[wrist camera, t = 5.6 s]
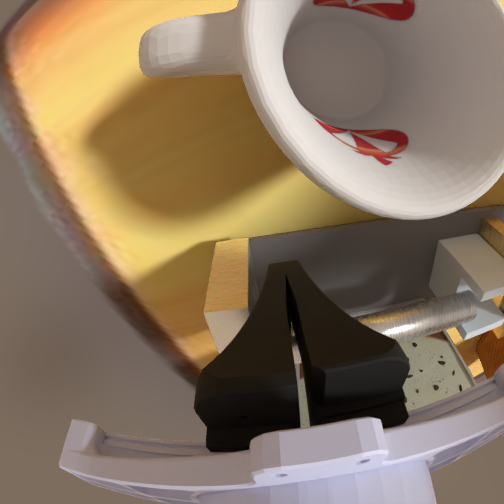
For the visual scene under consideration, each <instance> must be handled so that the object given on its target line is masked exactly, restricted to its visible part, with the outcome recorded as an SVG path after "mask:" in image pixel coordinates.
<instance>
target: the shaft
mask: <svg viewBox="0 0 504 504" xmlns="http://www.w3.org/2000/svg"><path fill="white" fill-rule="evenodd" d="M258 297H259V290H258V285H257V280H256V275H255V270H254V265H253V260H252V255H251V249H250V244H249V239H248V237H247V238H240V239H234V240H227V241H220V242H216V245H215V251H214V256H213V261H212V267H211V272H210V278H209V283H208V289H207V294H206V300H205V306H204V312H203V313H204V316H205V319H206V321H207V324H208V327H209V329H210V332H211V334H212V337H213V339H214V342H215V345H216V347H217V350H218V352H219V354H220V353H221V352H222V351H223V350H224V349H225V348H226V346H227V345H228V344H229V343H230V342H231V341H232V340H233V338H234V337H235V336H236V335H237V333H238V332H239V331H240V329H241V328H242V326H243V325H244V323H245V322H246V320H247V319H248V317H249V315H250V313H251V312H252V310H253V308H254V306H255V304H256V302H257V299H258ZM476 315H477V301H476V298H475V296H474V294H473V293H472V292H471V291H470V290H464V291H461V292H457V293H454V294H450V295H446V296H443V297H439V298H435V299H431V300H427V301H423V302H419V303H415V304H411V305H407V306H402V307H398V308H393V309H389V310H384V311H379V312H375V313H370V314H365V315H360V316H354V317H353V318H354V319H356V320H357V321H359V322H361V323H362V324H364V325H365V326H367V327H369V328H371V329H373V330H375V331H377V332H379V333H381V334H383V335H386V336H388V337H390V338H393V339H395V340H397V342H398V343H402V342H406V341H410V340H413V339H417V338H420V337H424V336H427V335H431V334H434V333H437V332H441V331H444V330H447V329H450V328H453V327H456V326H459V325H462V324H465V323H468V322H471V321H473V320H474V319H475V317H476ZM291 337H292V350H293V356H294V363H295V364H298V363H302V362H301V357H300V353H299V349H298V345H297V341H296V337H295V333H294V330H293V327H291Z"/></svg>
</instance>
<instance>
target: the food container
mask: <svg viewBox="0 0 504 504" xmlns="http://www.w3.org/2000/svg"><path fill="white" fill-rule="evenodd" d="M423 301H426V300H425V298H424V297H423V298H419V299H415V300H411V301H406V302H402V303H398V304H393V305H389V306H385V307H380V308H375V309H371V310H366V311H361V312H356V313H351V314H349V315H350V316H351V317H354V316H360V315H365V314H370V313H375V312H379V311H384V310H389V309H393V308H398V307H402V306H407V305H411V304H415V303H419V302H423ZM399 345H400V346H401V348H402V349H403V351H404V353H405V354H406V356H407V359H408V361H409V364H410V371H409V374H408V376H407V378H406V381H405V383H404V385H403V387H402V388H403V390H404V393H405V398H404V399H403V400H404V402H405V405H406V408H407V411H408V412H409V411H412V410H415V409H418V408H421V407H424V406H426V405H429V404H432V403H435V402H437V401H440V400H442V399H445V398H447V397H450V396H452V395H455V394H457V393H459V392H462V391H464V390H466V389H468V388H471V387H473V386H475V385H477V383H476V381H475V379H474V377H473V375H472V374H471V372H470V370H469V368H468V367H467V365H466V363H465V361H464V360H463V358H462V356H461V354H460V353H459V351H458V349H457V348H456V346H455V344H454V343H453V341H452V340H451V338H450V336H449V335H448V333H447V332H446V330H444V331H441V332H437V333H434V334H431V335H427V336H424V337H420V338H417V339H413V340H410V341H406V342H402V343H399ZM296 377H297V385H298V396H299V408H300V421H301V422H300V423H301V428H304V427H310V423H309V414H308V406H307V398H306V390H305V383H304V375H303V368H302V363H298V364H296Z"/></svg>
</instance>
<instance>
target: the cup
mask: <svg viewBox="0 0 504 504" xmlns="http://www.w3.org/2000/svg"><path fill="white" fill-rule="evenodd" d="M139 64H140V68H141V70H142V72H143V74H144V75H146V76H148V77H152V78H173V77H192V76H210V75H242V78H243V82H244V85H245V87H246V90H247V92H248V95H249V98H250V100H251V102H252V104H253V107H254V109H255V111H256V113H257V115H258V116H259V118H260V120H261V122H262V124H263V125H264V127H265V128H266V130H267V131H268V133H269V134H270V136H271V137H272V139H273V140H274V142H275V143H276V144H277V145H278V147H279V148H280V149H281V151H282V152H283V153H284V154H285V155H286V156H287V158H288V159H289V160H290V161H291V162H292V163H293V164H294V165H295V166H296V167H297V168H298V169H299V170H300V171H301V172H302V173H303V174H304V175H306V176H307V177H308V178H309V179H310V180H311V181H313V182H314V183H315V184H316V185H318V186H319V187H320V188H321V189H323V190H325V191H326V192H328V193H329V194H331V195H332V196H334V197H335V198H337V199H339V200H341V201H343V202H345V203H346V204H348V205H350V206H353V207H355V208H357V209H360V210H362V211H364V212H368V213H371V214H374V215H377V216H382V217H387V218H392V219H401V220H422V219H431V218H436V217H440V216H444V215H447V214H450V213H453V212H455V211H457V210H460V209H462V208H464V207H466V206H467V205H469V204H471V203H472V202H474V201H476V200H477V199H478V198H479V197H481V196H482V195H483V194H484V193H486V192H487V191H488V190H489V189H490V188H491V187H492V186H493V185H494V184H495V183H496V181H497V180H498V179H499V178H500V176H501V175H502V174H503V172H504V9H503V7H502V6H501V4H500V2H499V1H498V0H239V1H238V5H237V7H236V8H235V9H233V10H230V11H227V12H222V13H213V14H205V15H196V16H190V17H184V18H179V19H175V20H171V21H167V22H164V23H161V24H158V25H156V26H154V27H152V28H151V29H149V30H147V31H146V32H145V33H144V35H143V36H142V38H141V41H140V45H139Z"/></svg>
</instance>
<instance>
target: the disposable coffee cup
mask: <svg viewBox="0 0 504 504" xmlns="http://www.w3.org/2000/svg"><path fill="white" fill-rule="evenodd" d="M476 351H477V354H478V356H479V359H480V361H481V364H482V366H483V369H484V372H485V375H486V377H487V379H489V378H491V377H493V376H494V374H495V372H496V370H497V369H498V368H499V367H500V366H501V365H502V364H504V337H501V338H499V339H498V338H497V336H496V335H495V333H494V332H493V330H489V331H487V332H485V333H484V335H483V336H482V337H481V339H480V341H479V342H478V344H477V347H476ZM500 436H503V437H504V432H503V433H502V434H500Z"/></svg>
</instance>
